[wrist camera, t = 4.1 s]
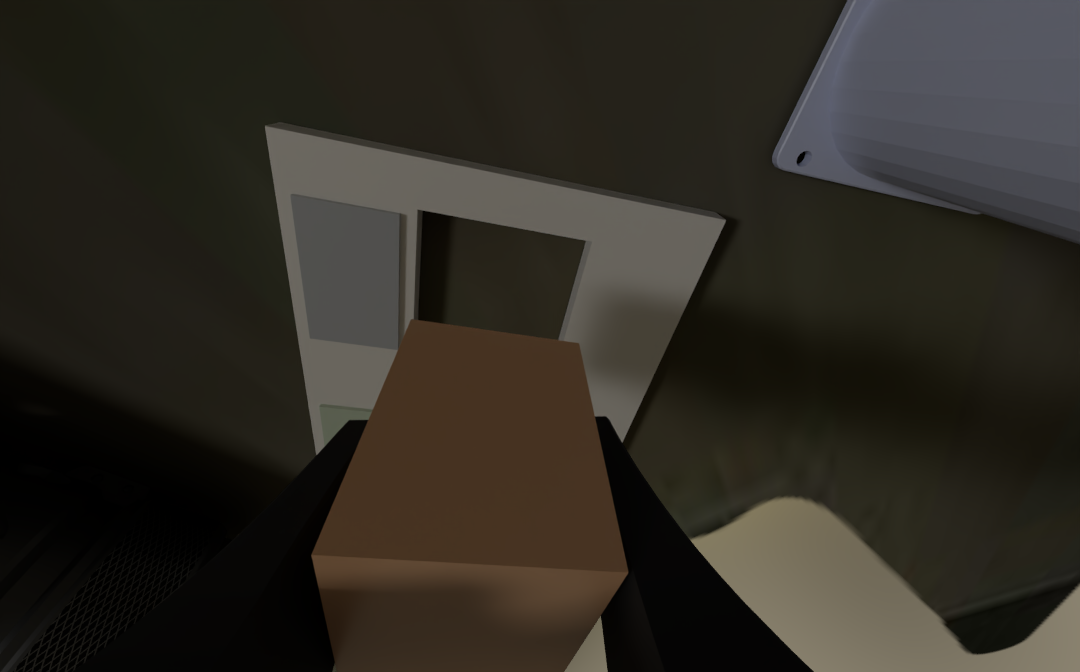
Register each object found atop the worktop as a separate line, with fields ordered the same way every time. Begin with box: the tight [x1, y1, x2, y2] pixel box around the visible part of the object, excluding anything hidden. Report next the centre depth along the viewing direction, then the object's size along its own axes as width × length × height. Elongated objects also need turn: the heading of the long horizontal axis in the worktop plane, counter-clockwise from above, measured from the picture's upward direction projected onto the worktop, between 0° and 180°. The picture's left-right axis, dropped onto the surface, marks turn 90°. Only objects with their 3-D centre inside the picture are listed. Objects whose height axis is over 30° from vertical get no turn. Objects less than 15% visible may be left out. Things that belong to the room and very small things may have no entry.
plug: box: [311, 319, 629, 672], centre depth 10 cm, size 4×5×6 cm
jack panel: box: [265, 122, 726, 455], centre depth 20 cm, size 16×20×1 cm
